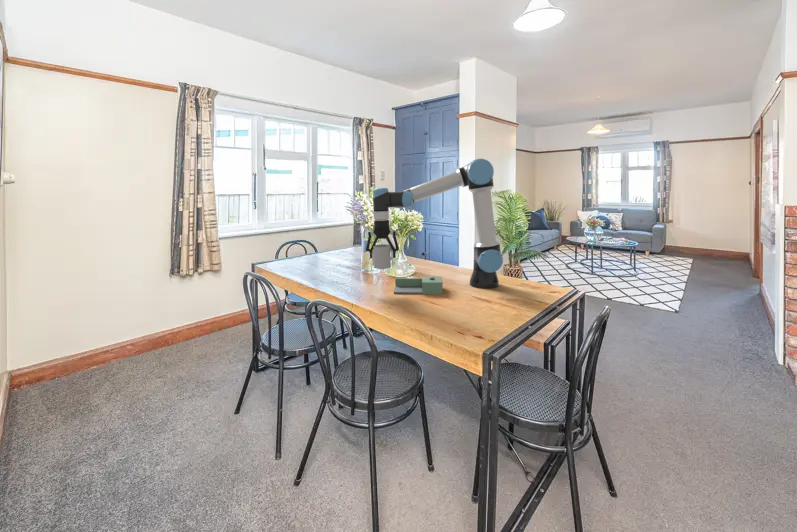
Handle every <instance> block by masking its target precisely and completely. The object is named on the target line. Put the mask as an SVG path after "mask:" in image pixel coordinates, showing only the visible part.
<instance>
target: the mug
mask: <svg viewBox="0 0 797 532" xmlns="http://www.w3.org/2000/svg"><path fill="white" fill-rule="evenodd" d="M392 251H393V250H392V249H391V247H390V245H389V244H385V243H384V244H383V243H382V244H376V245H375V246H373V251H372V252H373V253H374V265H373V268H374V269H377V270H387V269H390V268H391V267H392V266H391V265H392V255H391V252H392Z"/></svg>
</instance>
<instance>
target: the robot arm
mask: <svg viewBox="0 0 797 532" xmlns="http://www.w3.org/2000/svg"><path fill="white" fill-rule="evenodd" d="M494 173H495V172H494V167H493V164H492V163H491V162H490V161H489V160H488V159H485V158H476V159H474V160H472V161H470V162H469V163H468V164H465V165H464V166H462V167H459V168H458V169H456V171H455V172H451V173H449V174H446V175H443V176H440V177H437V178H435V179H432V180H429V181H427V182H423V183H421V184H418V185H415V186H412V187H410V188H407V189H404V190H401V191H389V189H388V187H381V188H380V187H377V188H374V189H373V191H372V206H373V208H372V209H373V220H374V221H373V230H372V231H370V230H369V231H368V232H367V236H368V237H367V243H366V247H365V251H366V252H368V253H369V259H371V263H372V266H374V253H373V246H375V245H377V243H378V241H379V240H381V239H384V240H386V241H387V243H388V245H390V247H391V249H392V250H393V251H392V252H391V251H390V256H391V255H392V260H391V265H392V266H394V265H395V264H394V260H395V259H396V256H397V255H396V254H397V253H396V252H397V251H399V250H400V246H399V243H398V238H397V236H396V234H397V232H396V230H391V229H390V220H389V219H390V212H389V211H390V208H412V207H413V206H414V203H416V202H419V201H421V200H425V199H427V198H431V197H433V196H436V195H440V194H442V193H446V192H448V191H450V190H453V189H457V188H459V187H462V188H466V187H467V188H468V191H470V192H471V194H472V200H473V210H474V219H475V227H476V235H477V242H474V245H473V270H472V273H471V276H470V278H469V286H471V287H474V288H478V289H494V288H498V287H499V283H500V281H499V278H498V275H497V271H499V270H500V269H501V267H502V266H503V264H504V257H503V255H502V251H501V244H500V241H498V240H497V235H496V227H495V217H494V208H493V207H494V206H493V200H492V189H493V188H494ZM390 234H391V236H392V238H393V242H394V244H393V243H392V241H391V239H390V237H389V235H390ZM373 235H374V236H375V239H374V241H373V243H372V245H371V241H372V236H373ZM370 246H371V247H370Z"/></svg>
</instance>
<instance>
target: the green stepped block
mask: <svg viewBox="0 0 797 532" xmlns="http://www.w3.org/2000/svg"><path fill="white" fill-rule="evenodd" d="M442 278H443V277H442V276H433V275H432V276H430V275H429V276H426V275H425V276H424V275H423V276H422V277H415V278H414V277H410V278H409V277H406V278H405V277H395V280H394V281H395V283H394V284H395V285H394V290H393V295H443V287H444V286H443V279H442Z"/></svg>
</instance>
